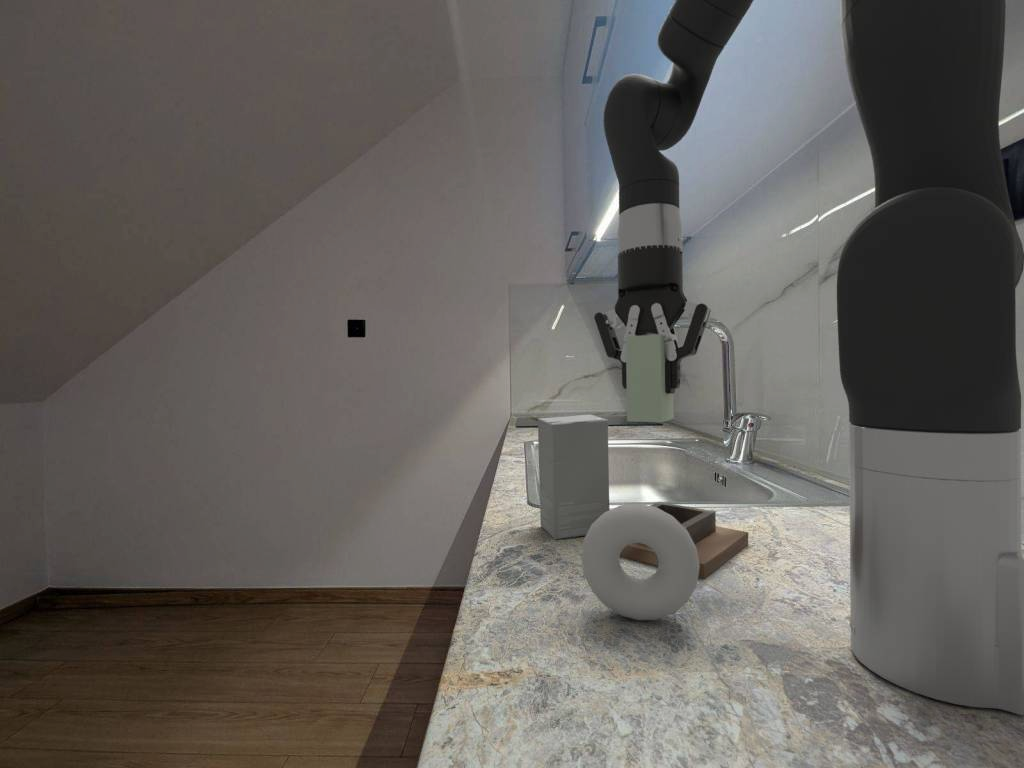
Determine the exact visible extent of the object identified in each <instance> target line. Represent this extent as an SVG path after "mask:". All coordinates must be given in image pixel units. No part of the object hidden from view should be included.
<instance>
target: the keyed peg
mask: <svg viewBox="0 0 1024 768" xmlns="http://www.w3.org/2000/svg"><path fill="white" fill-rule="evenodd" d="M665 362H667V357H666V354H665V348H664V340H663V335H661V334H659V335H656V334H650V335H642V336H626V376H627V389H626V422H636V423H638V422H639V423H664V422H668V421H670V420H674V419H675V406H674V405H675V403H674V402H675V399H674V398H675V396H674V394H675V393H673V394H666V392H665Z"/></svg>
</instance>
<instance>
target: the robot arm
mask: <svg viewBox="0 0 1024 768" xmlns="http://www.w3.org/2000/svg"><path fill="white" fill-rule="evenodd" d="M753 2H754V0H674V2H673V3H672V5H671V7H670V9H669V12H667V15H666V16H665V18H664V21H663V23H662V24H661V25H660V29H659V31H658V34H657V38H656V39H657V40H656V44H657V47H658V50H659V51H660V53H662V55H663V56H664V57H665V58H666V59H667V60H669V61H670V63H672V67H671V72H670V75H669V77H668V80H667V81H666V82H663V81H660V80H658V79H655V78H653V77H649V76H646V75H644V74H640V73H639V74H638V73H630V74H626V75H623V76H622V77H621V78H619V79H618V80H617V81H616V82H615V83H614V84H613V86H612V87H611V89H610V91H609V93H608V95H607V98H606V100H605V104H604V108H603V130H604V134H605V135H604V137H605V138H606V143H607V146H608V150H609V154H610V157H611V161H612V166H613V169H614V171H615V174H616V175H615V176H616V178H617V181H618V227H617V233H616V234H617V237H616V239H617V242H616V243H617V244H616V245H617V294H618V297H617V301H616V302H615V304H614V308H612V309H609V310H607V311H605V312H599V311H598V312H596V313H595V314H594V317H593V318H594V322H595V324H596V327H597V330H598V332H599V336H600V339H601V342H602V345H603V347H604V351H605V354H606V356H607V357H608V358H610V359H611V358H612V359H614V360H618V361H619V362H620V363H621V385H622V388H623V389H626V390H627V376H626V336H642V335H659V334H661V335H663V340H664V348H665V354H666V357H667V362H665V392H666V394H673V393H674V394H675V393H676V389H679V388H680V386H681V362H682V361H683V360H684V359H686V358H688V357H692V356H695V355H696V354H697V352H698V351H699V346H700V344H701V341H702V337H703V335H704V333H705V330H706V327H707V323H708V320H709V318H710V314H711V312H712V311H711V308H710V307H709V305H707V304H705V303H696V302H690V301H688V299H687V297H686V296H685V294H684V290H683V289H684V288H683V287H684V286H683V285H684V284H683V283H684V282H683V281H684V279H683V276H684V275H683V269H684V268H683V247H684V239H683V227H682V219H681V212H680V211H681V210H680V173H679V169H678V167H677V165H676V163H675V162H674V161H673V160H671V159H670V158H668V157H667V156H665V155H664V154H663V153H662V152H663V151H667V150H669V149H670V148H673V147H674V146H676V145H677V144H679V142H680V141H681V140H682V139H683V138H684V137H685V136H686V135H687V133H688V132H689V131H690V129H691V127H692V125H693V122H694V120H695V118H696V117H697V116H696V115H697V113H698V111H699V108H700V105H701V102H702V99H703V96H704V94H705V92H706V89H707V86H708V85H709V81H710V78H711V76H712V73H713V71H714V67H715V64H716V62H717V60H718V58H719V57H720V55H721V53H722V51H724V49H725V46H727V45H728V42H729V40H731V38H732V36H733V35H734V33H735V31H736V29H738V27H739V25H740V24H741V22H742V20H743V19H744V18H745V15H746V14H747V12H748V11H749V9H750V7H751V6H752V4H753ZM1006 3H1007V2H1006V0H839V11H840V12H839V13H840V14H839V15H840V32H841V33H840V34H841V37H840V38H841V43H842V44H841V45H842V46H841V47H842V52H843V58H844V60H843V61H844V62H845V63H844V64H845V68H846V73H847V76H848V81H849V84H850V87H851V93H852V95H853V97H854V98H853V99H854V102H855V107H856V109H857V112H858V116H859V118H860V122H861V125H862V127H863V130H864V134H865V136H866V137H865V138H866V141H867V143H868V147H869V150H870V155H871V160H872V167H873V175H874V177H873V178H874V209H873V210H871V211H869V213H867V214H866V215H865V216H864V217H863V218H862V219H861V220H860V221H859V222H858V223H857V224H856V226H854V228H853V229H852V231H851V232H850V234H849V236H847V238H846V240H845V242H844V245H843V247H842V250H841V254H840V256H839V261H838V265H837V275H836V315H837V316H836V317H837V318H836V319H837V338H838V339H837V340H838V342H837V343H838V344H837V345H838V361H839V372H840V380H841V384H842V387H843V390H844V392H845V395H846V398H847V402H848V413H849V414H848V420H849V421H848V422H849V423H848V430H849V431H848V432H849V433H848V434H849V435H848V439H849V440H848V441H849V442H848V443H849V445H848V446H849V447H848V448H849V449H848V450H849V460H848V461H849V465H848V467H849V579H850V580H849V581H850V582H849V587H850V588H849V590H850V592H849V593H850V595H849V597H850V601H849V602H850V616H849V628H850V649H851V651H852V653H853V655H854V657H855V658H856V659H857V660H858V662H860V663H861V664H862V665H863V666H865V667H866V668H867V669H868V670H870V671H872V672H873V673H875V674H876V675H878V676H879V677H881V678H883V679H885V680H887V681H888V682H890V683H892V684H894V685H896V686H899V687H901V688H903V689H906V690H908V691H910V692H913V693H915V694H919V695H922V696H925V697H927V698H932V699H934V700H937V701H942V702H946V703H951V704H954V705H960V706H965V707H972V708H980V709H981V708H984V709H985V708H986V709H998V710H1003V711H1006V712H1010V713H1013V714H1017V715H1020V716H1024V555H1023V551H1022V477H1021V476H1022V432H1021V429H1022V393H1021V387H1020V380H1019V370H1018V361H1017V331H1016V329H1017V322H1016V321H1017V320H1016V316H1017V314H1016V313H1017V311H1016V309H1017V308H1016V307H1017V306H1016V300H1017V299H1016V288H1017V286H1018V285H1019V283H1020V281H1021V277H1022V275H1023V272H1024V247H1023V243H1022V240H1021V238H1020V235H1019V233H1018V229H1017V226H1016V222H1015V218H1014V214H1013V210H1012V205H1011V201H1010V196H1009V191H1008V186H1007V180H1006V174H1005V169H1004V168H1005V167H1004V162H1003V158H1002V152H1001V151H1002V149H1001V141H1000V125H999V122H1000V121H999V120H1000V116H999V115H1000V102H1001V100H1000V99H1001V92H1002V82H1003V81H1002V79H1003V69H1004V68H1003V67H1004V58H1005V57H1004V55H1005V54H1004V53H1005V33H1006V9H1007V8H1006V5H1007V4H1006ZM661 151H662V152H661ZM685 311H686V313H687V314H686V319H687V320H688V321H689V322H690V323H689V326H688V329H687V332H686V336H685V338H684V341H683V344H682V346H679V342H678V341H679V340H678V336H677V335H678V334H677V332H676V329H675V325H676V324H677V322H678V321H679V320H680V318H681V317H682V315H683V314H684V313H685ZM617 318H619V319H620V321H621V322H622V323H623V324H624V326H625V331H624V334H623V335H624V336H623V341H622V342H623V346H622V348H621V345H620V342H619V339H618V337H617V333H616V330H615V327H616V326H617Z"/></svg>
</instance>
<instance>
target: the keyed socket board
mask: <svg viewBox="0 0 1024 768" xmlns="http://www.w3.org/2000/svg"><path fill="white" fill-rule="evenodd" d="M649 506H653V507H657V508H659V509H660V510H662V511H664V512H666V513H668V514H670V515H672V516H673V517H674V518H675V519H676V520H677V521H678V522H679V523H680V524H681V525H682V526H683V527H684V528H685V529H686V530H687V531H688V533H689V535H690V537H691V539H692V540H693V542H694V544H695V546H696V548H697V554H698V559H699V565H700V568H699V574H698V578H701V579H706V578H707V577H709V576H710V575H711V574H712V573H714V572H715V571H716V570H718V569H719V568H721V566H722V565H724V564H725V563H727V561H729V560H730V559H731V558H733V557H734V556H735V555H737V554H738V553H739V552H740V551H742V550H743V549H744V548H746V547H747V546H748V545H749V532H748V531H744V530H738V529H735V528H734V529H732V528H728V527H722V526H718V525H716V524H717V523H716V521H717V520H716V517H717V515H716V511H714V510H708V509H704V508H698V507H692V506H686V505H681V504H680V505H679V504H673V503H670V502H669V503H668V502H661V501H658V502H656V503H655V502H654V503H653V504H650V505H649ZM620 557H622V558H626V559H629V560H634V561H637V562H641V563H645V564H649V565H652V566H656V567H658V564H659V562H658V557H657V555H656V553H655V552H654V551H653V550H652V549H651V548H650V547H648V546H647V545H645V544H641V543H632V544H630V545H627V546H626V547H624V548H623V549H622V551H621V553H620Z"/></svg>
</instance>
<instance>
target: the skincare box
mask: <svg viewBox="0 0 1024 768" xmlns="http://www.w3.org/2000/svg"><path fill="white" fill-rule="evenodd" d="M537 435H538V437H537V439H538V440H537V443H538V445H537V446H538V475H539V478H538V480H539V482H538V483H539V506H540V507H539V511H540V526H541V527H542V529H544V530H545V531H546V532H547V533H548V534H549V535H550V536H551V537H552V538H553V539H554V540H561V539H569V538H577V537H583V536H584V537H585V536H586V535H587V533H588V531H589V529H590V527H591V525H592V524H593V523H594V522H595V521H596V520H597V519H598V518H599V517H600V516H601V515H602V514H603V513H605V512H607V511H609V510H611V509H610V467H609V466H610V465H609V463H610V461H609V420H608V419H607V418H603V417H600V416H597V415H594V414H581V415H570V416H557V417H556V416H555V417H540V418H539V417H538V418H537Z"/></svg>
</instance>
